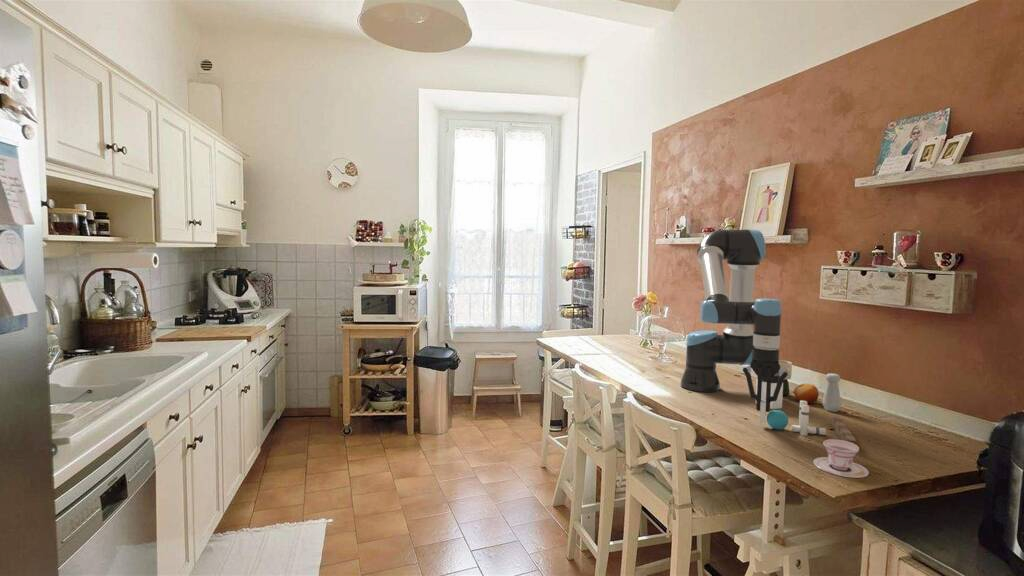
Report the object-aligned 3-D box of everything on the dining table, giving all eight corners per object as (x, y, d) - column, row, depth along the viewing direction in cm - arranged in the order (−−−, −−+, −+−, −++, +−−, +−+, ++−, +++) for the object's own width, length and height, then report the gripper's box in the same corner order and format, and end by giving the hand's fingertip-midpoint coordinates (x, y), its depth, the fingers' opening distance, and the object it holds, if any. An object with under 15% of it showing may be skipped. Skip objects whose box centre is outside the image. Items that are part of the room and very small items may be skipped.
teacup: (824, 455, 138) (825, 433, 137) (876, 470, 128) (877, 447, 128) (805, 466, 130) (806, 443, 130) (858, 483, 121) (859, 458, 120)
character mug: (763, 390, 203) (765, 358, 202) (781, 390, 204) (782, 359, 203) (779, 398, 192) (781, 364, 191) (797, 398, 193) (799, 364, 192)
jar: (751, 405, 183) (753, 373, 182) (758, 401, 189) (760, 369, 188) (778, 411, 176) (780, 377, 176) (785, 406, 182) (786, 373, 182)
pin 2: (798, 433, 154) (800, 404, 154) (805, 433, 154) (806, 404, 154) (802, 435, 152) (804, 406, 151) (809, 435, 152) (811, 406, 152)
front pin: (792, 424, 155) (826, 427, 152) (791, 424, 157) (824, 428, 154) (792, 431, 155) (826, 435, 152) (791, 431, 157) (824, 435, 153)
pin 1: (796, 428, 159) (798, 400, 158) (803, 428, 159) (804, 400, 158) (800, 430, 157) (802, 402, 156) (807, 430, 157) (808, 402, 156)
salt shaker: (843, 410, 178) (845, 374, 177) (838, 413, 174) (840, 376, 173) (824, 406, 182) (826, 371, 181) (819, 409, 178) (821, 373, 177)
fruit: (827, 402, 183) (816, 383, 183) (806, 411, 184) (795, 392, 185) (818, 396, 191) (808, 377, 191) (799, 405, 192) (788, 387, 193)
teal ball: (767, 404, 160) (789, 407, 157) (767, 419, 163) (788, 423, 160) (765, 415, 156) (787, 419, 153) (765, 431, 158) (787, 435, 155)
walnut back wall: (856, 452, 140) (857, 441, 140) (848, 450, 141) (848, 440, 140) (838, 425, 162) (839, 416, 162) (831, 424, 163) (832, 415, 162)
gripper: (742, 347, 158) (739, 421, 159) (789, 351, 152) (785, 428, 153) (743, 344, 164) (740, 414, 166) (789, 347, 158) (785, 421, 160)
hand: (762, 421), depth 160 cm, fingers closed
